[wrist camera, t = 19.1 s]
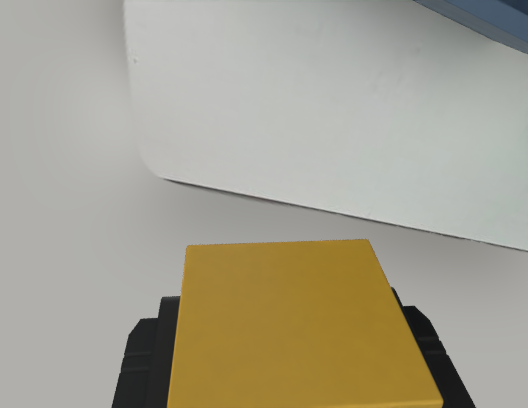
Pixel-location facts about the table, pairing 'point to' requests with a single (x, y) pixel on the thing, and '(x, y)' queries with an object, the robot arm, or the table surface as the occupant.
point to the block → (294, 330)
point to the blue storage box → (488, 18)
